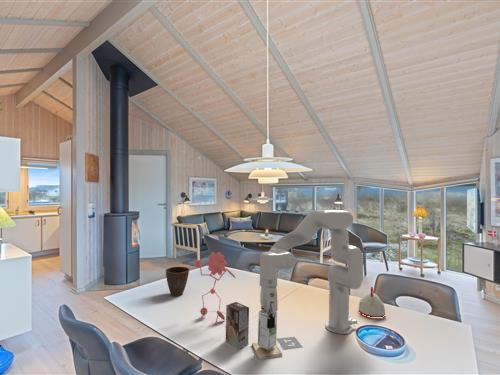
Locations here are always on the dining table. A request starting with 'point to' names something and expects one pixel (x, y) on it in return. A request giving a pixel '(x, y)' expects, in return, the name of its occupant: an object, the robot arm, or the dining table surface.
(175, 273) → the plant pot
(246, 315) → the coffee box
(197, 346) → the dining table surface
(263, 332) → the syrup box
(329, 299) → the robot arm
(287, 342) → the plaque
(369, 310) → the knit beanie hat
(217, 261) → the figurine
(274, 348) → the tray
